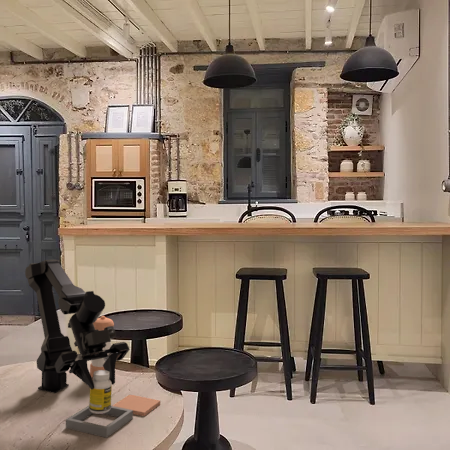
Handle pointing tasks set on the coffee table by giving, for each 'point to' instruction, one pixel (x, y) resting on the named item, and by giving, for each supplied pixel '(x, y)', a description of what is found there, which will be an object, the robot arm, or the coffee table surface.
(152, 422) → the coffee table surface
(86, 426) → the grey square frame
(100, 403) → the supplement bottle
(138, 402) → the coaster
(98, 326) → the pepper shaker
